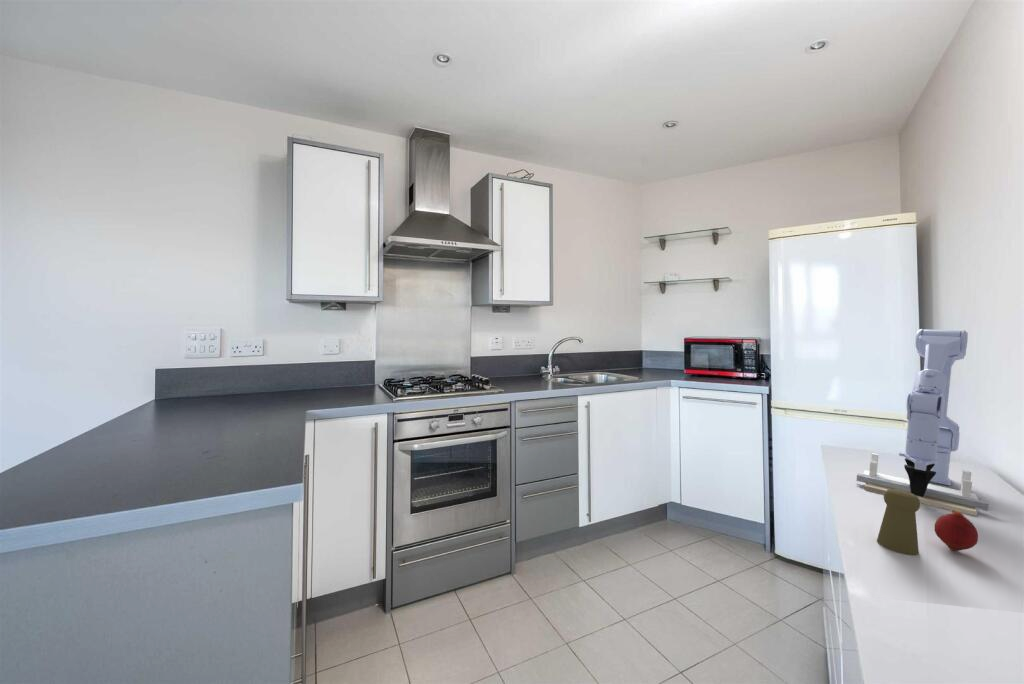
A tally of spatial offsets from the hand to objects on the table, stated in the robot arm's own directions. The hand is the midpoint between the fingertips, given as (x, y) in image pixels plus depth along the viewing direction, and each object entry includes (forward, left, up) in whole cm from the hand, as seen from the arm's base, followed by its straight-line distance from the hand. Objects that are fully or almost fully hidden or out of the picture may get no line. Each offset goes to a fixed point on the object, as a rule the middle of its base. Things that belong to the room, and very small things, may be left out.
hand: (917, 491), depth 107 cm
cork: (+39, -3, -2) cm, 39 cm away
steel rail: (0, 0, -1) cm, 1 cm away
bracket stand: (-8, 0, -2) cm, 9 cm away
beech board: (0, 0, -2) cm, 2 cm away
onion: (+32, +5, -2) cm, 32 cm away
